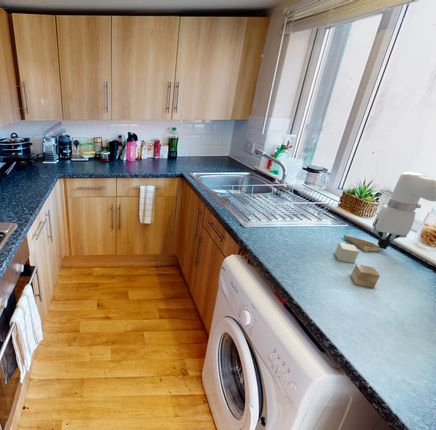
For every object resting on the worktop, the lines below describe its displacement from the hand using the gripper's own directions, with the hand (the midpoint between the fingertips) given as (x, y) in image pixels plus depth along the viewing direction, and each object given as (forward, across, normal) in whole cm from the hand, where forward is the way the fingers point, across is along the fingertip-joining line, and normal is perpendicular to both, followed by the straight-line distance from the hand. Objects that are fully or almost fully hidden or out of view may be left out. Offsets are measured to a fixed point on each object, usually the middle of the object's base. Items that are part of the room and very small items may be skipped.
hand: (381, 247), depth 115 cm
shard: (+1, +7, 0) cm, 7 cm away
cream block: (+1, +16, +14) cm, 21 cm away
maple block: (+1, +14, +29) cm, 32 cm away
